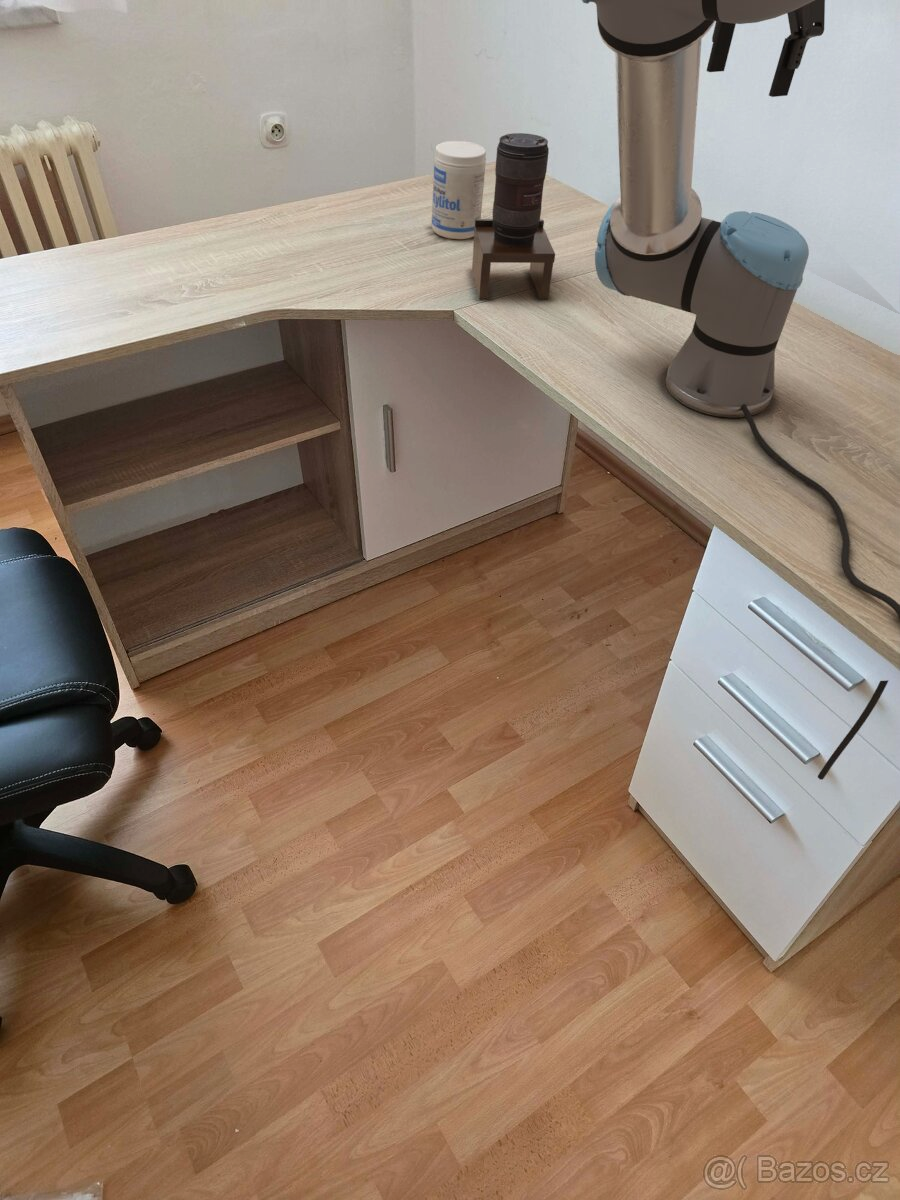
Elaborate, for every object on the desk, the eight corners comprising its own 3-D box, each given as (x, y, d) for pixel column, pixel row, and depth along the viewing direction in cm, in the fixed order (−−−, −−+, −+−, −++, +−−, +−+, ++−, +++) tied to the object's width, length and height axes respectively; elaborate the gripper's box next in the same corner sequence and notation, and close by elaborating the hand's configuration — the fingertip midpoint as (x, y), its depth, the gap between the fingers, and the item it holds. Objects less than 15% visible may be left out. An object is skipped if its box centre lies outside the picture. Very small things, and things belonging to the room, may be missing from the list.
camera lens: (538, 231, 135) (550, 133, 124) (537, 250, 129) (549, 149, 118) (491, 227, 135) (499, 129, 124) (488, 245, 129) (496, 145, 119)
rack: (548, 301, 134) (556, 247, 128) (479, 301, 133) (483, 247, 126) (536, 270, 142) (543, 219, 136) (471, 270, 141) (474, 218, 135)
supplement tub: (424, 235, 151) (425, 151, 141) (441, 218, 158) (444, 137, 147) (471, 244, 149) (476, 160, 139) (487, 227, 156) (493, 145, 145)
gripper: (899, -107, 91) (828, 104, 106) (755, -127, 106) (711, 60, 121) (852, -107, 88) (785, 109, 103) (711, -128, 103) (671, 63, 119)
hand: (745, 83), depth 112 cm, fingers open, 13 cm apart
